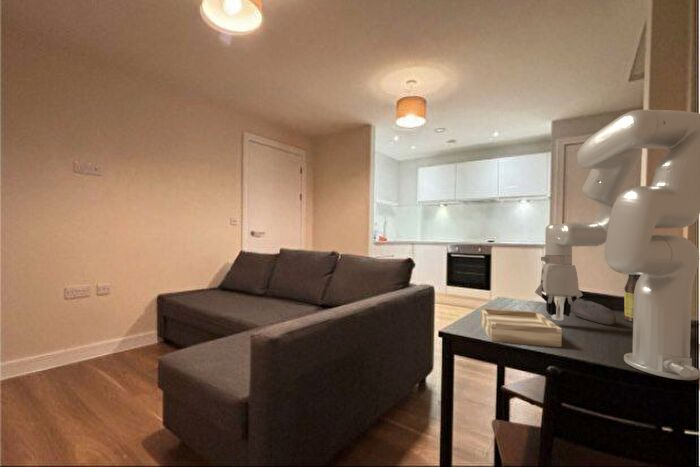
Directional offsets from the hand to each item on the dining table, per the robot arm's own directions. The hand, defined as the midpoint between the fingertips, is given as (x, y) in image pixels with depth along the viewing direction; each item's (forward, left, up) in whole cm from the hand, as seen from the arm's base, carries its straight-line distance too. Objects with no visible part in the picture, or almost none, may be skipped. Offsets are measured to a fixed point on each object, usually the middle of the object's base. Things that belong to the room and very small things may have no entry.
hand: (558, 314), depth 105 cm
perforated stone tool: (+10, -15, -4) cm, 18 cm away
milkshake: (0, 0, -2) cm, 2 cm away
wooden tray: (-12, +16, -4) cm, 21 cm away
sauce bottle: (+14, -30, -4) cm, 33 cm away
